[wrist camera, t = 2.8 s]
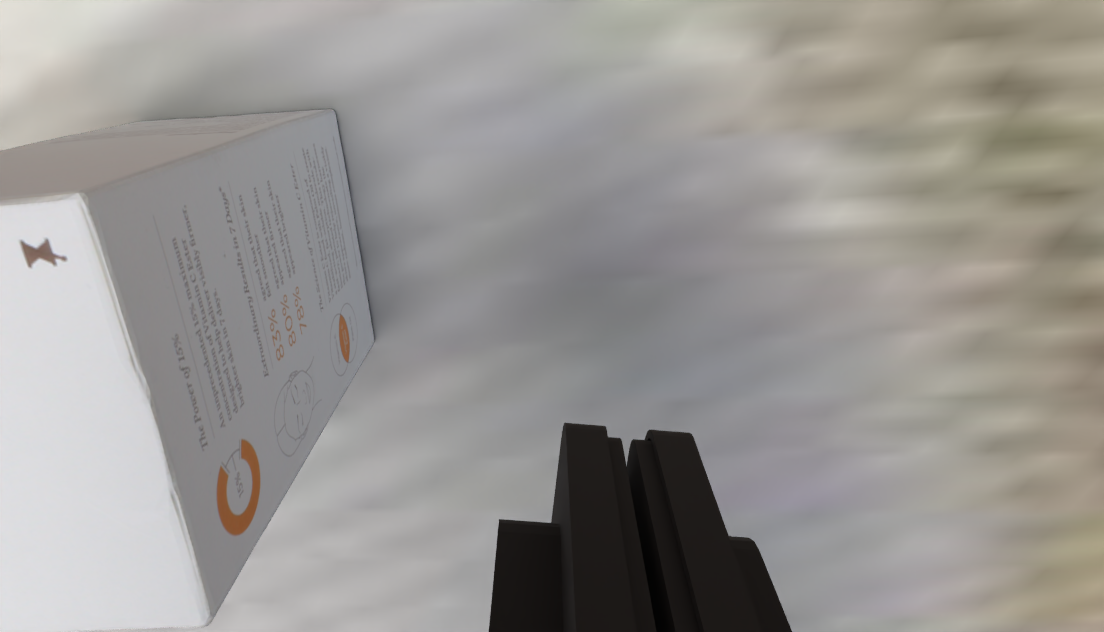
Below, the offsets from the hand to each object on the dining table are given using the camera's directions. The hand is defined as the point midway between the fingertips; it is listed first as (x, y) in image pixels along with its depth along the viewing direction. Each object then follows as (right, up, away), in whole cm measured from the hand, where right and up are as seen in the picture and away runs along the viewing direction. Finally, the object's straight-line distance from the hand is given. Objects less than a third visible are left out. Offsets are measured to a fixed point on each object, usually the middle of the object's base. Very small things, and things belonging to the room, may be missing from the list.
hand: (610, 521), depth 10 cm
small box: (-10, +5, +14) cm, 18 cm away
